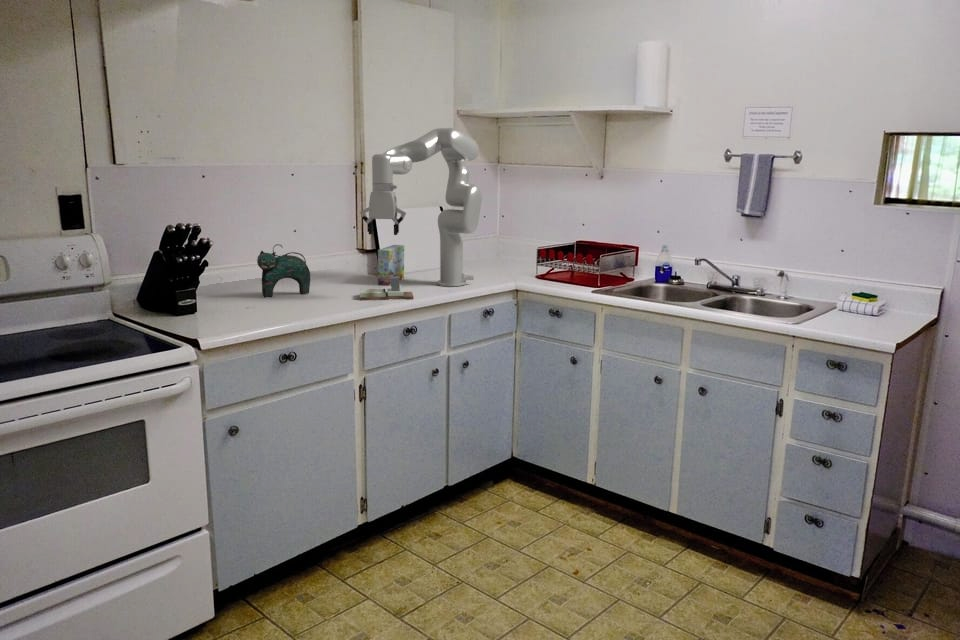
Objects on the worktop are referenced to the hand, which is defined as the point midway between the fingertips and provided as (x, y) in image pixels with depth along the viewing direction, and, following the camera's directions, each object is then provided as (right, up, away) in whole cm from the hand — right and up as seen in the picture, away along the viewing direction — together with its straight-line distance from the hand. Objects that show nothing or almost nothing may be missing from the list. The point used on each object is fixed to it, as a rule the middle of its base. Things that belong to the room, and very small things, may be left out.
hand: (383, 234), depth 274 cm
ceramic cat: (-39, -23, +9) cm, 46 cm away
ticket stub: (+4, -22, +7) cm, 23 cm away
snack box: (-2, -16, +43) cm, 45 cm away
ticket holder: (+1, -23, +6) cm, 24 cm away
